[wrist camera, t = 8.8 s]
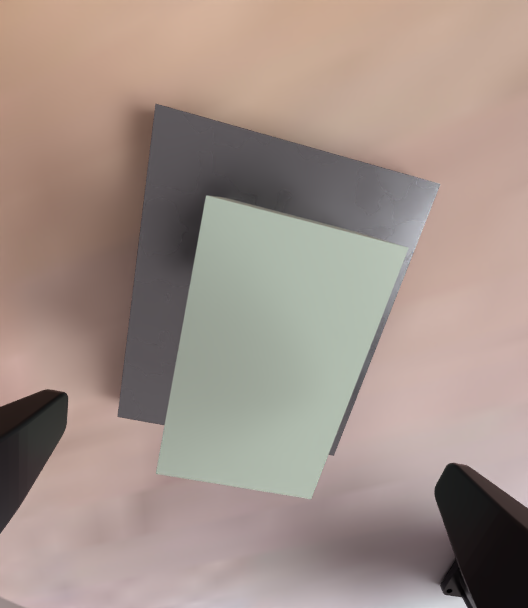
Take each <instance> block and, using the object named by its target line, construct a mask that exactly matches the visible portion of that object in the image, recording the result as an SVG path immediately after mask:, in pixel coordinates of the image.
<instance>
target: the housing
mask: <svg viewBox="0 0 528 608" xmlns="http://www.w3.org/2000/svg"><path fill="white" fill-rule="evenodd" d="M407 251H408V247H405V246H401V245H398V244H395V243H391V242H388V241H385V240H381V239H378V238H375V237H371V236H368V235H365V234H361V233H358V232H355V231H351V230H348V229H344V228H340V227H336V226H332V225H328V224H325V223H321V222H317V221H313V220H309V219H305V218H301V217H298V216H294V215H290V214H286V213H282V212H278V211H275V210H271V209H267V208H263V207H259V206H255V205H251V204H248V203H244V202H240V201H236V200H232V199H228V198H223V197H215V196H207V195H206V199H205V204H204V210H203V215H202V221H201V227H200V232H199V238H198V243H197V249H196V254H195V260H194V265H193V271H192V276H191V282H190V287H189V293H188V299H187V304H186V310H185V315H184V321H183V326H182V332H181V337H180V343H179V348H178V354H177V359H176V365H175V371H174V376H173V382H172V387H171V393H170V398H169V404H168V409H167V415H166V420H165V426H164V431H163V437H162V443H161V448H160V454H159V459H158V465H157V470H156V474H160V475H166V476H172V477H178V478H185V479H191V480H197V481H203V482H209V483H215V484H221V485H227V486H233V487H239V488H245V489H251V490H257V491H263V492H270V493H276V494H282V495H288V496H294V497H300V498H306V499H311V498H312V496H313V493H314V490H315V488H316V485H317V483H318V480H319V478H320V475H321V472H322V470H323V467H324V465H325V462H326V460H327V457H328V454H329V452H330V449H331V447H332V444H333V442H334V439H335V436H336V434H337V431H338V429H339V426H340V424H341V421H342V418H343V416H344V413H345V411H346V408H347V406H348V403H349V400H350V398H351V395H352V393H353V390H354V387H355V385H356V382H357V380H358V377H359V375H360V372H361V369H362V367H363V364H364V362H365V359H366V357H367V354H368V351H369V349H370V346H371V344H372V341H373V339H374V336H375V333H376V331H377V328H378V326H379V323H380V321H381V318H382V315H383V313H384V310H385V308H386V305H387V303H388V300H389V297H390V295H391V292H392V290H393V287H394V284H395V282H396V279H397V277H398V274H399V272H400V269H401V266H402V264H403V261H404V259H405V256H406V254H407Z"/></svg>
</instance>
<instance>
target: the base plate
mask: <svg viewBox="0 0 528 608" xmlns="http://www.w3.org/2000/svg"><path fill="white" fill-rule="evenodd" d="M439 187H440V184H438V183H435V182H431V181H428V180H424V179H421V178H417V177H414V176H410V175H407V174H403V173H400V172H396V171H392V170H389V169H385V168H382V167H378V166H375V165H371V164H368V163H364V162H361V161H357V160H353V159H350V158H346V157H343V156H339V155H336V154H332V153H329V152H325V151H322V150H318V149H315V148H311V147H307V146H304V145H300V144H297V143H293V142H290V141H286V140H283V139H279V138H276V137H272V136H268V135H265V134H261V133H258V132H254V131H251V130H247V129H244V128H240V127H237V126H233V125H229V124H226V123H222V122H219V121H215V120H212V119H208V118H205V117H201V116H198V115H194V114H191V113H187V112H183V111H180V110H176V109H173V108H169V107H166V106H162V105H159V104H156V105H155V113H154V121H153V130H152V138H151V146H150V154H149V162H148V171H147V179H146V187H145V195H144V204H143V212H142V220H141V228H140V237H139V245H138V253H137V261H136V269H135V278H134V286H133V294H132V302H131V311H130V319H129V327H128V335H127V344H126V352H125V360H124V368H123V376H122V385H121V393H120V401H119V409H118V417H122V418H127V419H133V420H138V421H144V422H149V423H155V424H161V425H165V420H166V415H167V409H168V404H169V398H170V393H171V387H172V382H173V376H174V371H175V365H176V359H177V354H178V348H179V343H180V337H181V332H182V326H183V321H184V315H185V310H186V304H187V299H188V293H189V287H190V282H191V276H192V271H193V265H194V260H195V254H196V249H197V243H198V238H199V232H200V227H201V221H202V215H203V210H204V204H205V199H206V195H207V196H215V197H223V198H228V199H232V200H236V201H240V202H244V203H248V204H251V205H255V206H259V207H263V208H267V209H271V210H275V211H278V212H282V213H286V214H290V215H294V216H298V217H301V218H305V219H309V220H313V221H317V222H321V223H325V224H328V225H332V226H336V227H340V228H344V229H348V230H351V231H355V232H358V233H361V234H365V235H368V236H371V237H375V238H378V239H381V240H385V241H388V242H391V243H395V244H398V245H401V246H405V247H408V251H407V254H406V256H405V259H404V261H403V264H402V266H401V269H400V272H399V274H398V277H397V279H396V282H395V284H394V287H393V290H392V292H391V295H390V297H389V300H388V303H387V305H386V308H385V310H384V313H383V315H382V318H381V321H380V323H379V326H378V328H377V331H376V333H375V336H374V339H373V341H372V344H371V346H370V349H369V351H368V354H367V357H366V359H365V362H364V364H363V367H362V369H361V372H360V375H359V377H358V380H357V382H356V385H355V387H354V390H353V393H352V395H351V398H350V400H349V403H348V406H347V408H346V411H345V413H344V416H343V418H342V421H341V424H340V426H339V429H338V431H337V434H336V436H335V439H334V442H333V444H332V447H331V449H330V452H329V454H328V455H333V456H334V454H335V451H336V448H337V446H338V443H339V441H340V438H341V436H342V433H343V431H344V428H345V426H346V423H347V421H348V418H349V415H350V413H351V410H352V408H353V405H354V403H355V400H356V398H357V395H358V393H359V390H360V387H361V385H362V382H363V380H364V377H365V375H366V372H367V370H368V367H369V365H370V362H371V359H372V357H373V354H374V352H375V349H376V347H377V344H378V342H379V339H380V337H381V334H382V331H383V329H384V326H385V324H386V321H387V319H388V316H389V314H390V311H391V309H392V306H393V304H394V301H395V298H396V296H397V293H398V291H399V288H400V286H401V283H402V281H403V278H404V276H405V273H406V270H407V268H408V265H409V263H410V260H411V258H412V255H413V253H414V250H415V248H416V245H417V242H418V240H419V237H420V235H421V232H422V230H423V227H424V225H425V222H426V220H427V217H428V215H429V212H430V209H431V207H432V204H433V202H434V199H435V197H436V194H437V192H438V189H439Z"/></svg>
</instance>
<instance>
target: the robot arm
mask: <svg viewBox="0 0 528 608" xmlns="http://www.w3.org/2000/svg"><path fill="white" fill-rule="evenodd" d="M67 411H68V395H67V394H66V393H65V392H61V391H55V390H49V389H46V390H43V391H40V392H37V393H35V394H32V395H30V396H27V397H25V398H22V399H19V400H17V401H14V402H12V403H9V404H6V405H4V406H1V407H0V533H1V532H2V531H3V529H4V528H5V527H6V525H7V524H8V523H9V521H10V520H11V518H12V517H13V515H14V514H15V513H16V511H17V510H18V508H19V507H20V505H21V504H22V502H23V500H24V499H25V497H26V496H27V494H28V492H29V491H30V489H31V487H32V486H33V484H34V482H35V481H36V479H37V477H38V476H39V474H40V472H41V471H42V469H43V467H44V466H45V464H46V462H47V461H48V459H49V457H50V456H51V454H52V452H53V451H54V449H55V447H56V446H57V444H58V442H59V440H60V439H61V437H62V435H63V433H64V431H65V428H66V425H67ZM435 499H436V502H437V505H438V508H439V511H440V513H441V516H442V519H443V522H444V525H445V528H446V531H447V534H448V537H449V540H450V542H451V545H452V548H453V551H454V554H455V557H456V561H455V562H454V564H453V566H452V567H451V569H450V570H449V572H448V574H447V575H446V577H445V578H444V580H443V582H442V583H441V585H440V587H441V589H442V591H443V593H444V594H445V595H450V596H457V597H462V598H463V600H464V602H465V604H466V606H467V608H528V508H527V507H525V506H524V505H522V504H521V503H520V502H518V501H517V500H515V499H514V498H513V497H511V496H510V495H508V494H507V493H506V492H504V491H503V490H501V489H500V488H499V487H497V486H496V485H494V484H493V483H492V482H490V481H489V480H487V479H486V478H485V477H483V476H482V475H480V474H479V473H478V472H476V471H475V470H473V469H472V468H471V467H469V466H467V465H463V464H457V463H450V464H448V465H447V466H446V468H445V469H444V471H443V473H442V475H441V477H440V479H439V480H438V482H437V484H436V486H435Z"/></svg>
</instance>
